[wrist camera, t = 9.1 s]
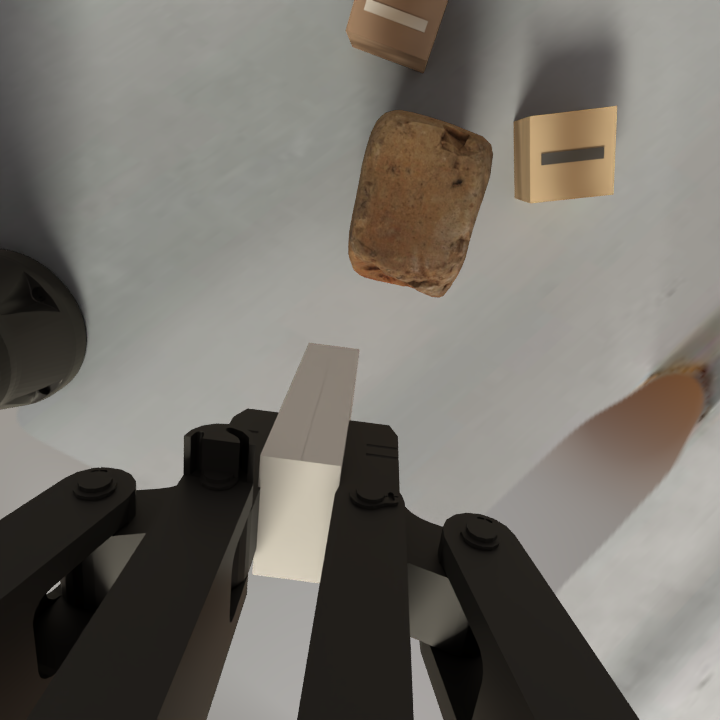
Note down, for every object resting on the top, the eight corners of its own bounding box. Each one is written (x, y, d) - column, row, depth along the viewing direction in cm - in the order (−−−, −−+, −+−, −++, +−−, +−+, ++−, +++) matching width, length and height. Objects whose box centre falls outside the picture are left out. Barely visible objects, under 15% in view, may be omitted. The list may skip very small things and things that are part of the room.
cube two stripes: (352, 46, 44) (345, 30, 38) (377, -39, 42) (374, -70, 36) (423, 73, 44) (427, 60, 38) (451, -10, 42) (460, -37, 36)
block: (383, 118, 45) (371, 89, 27) (470, 142, 46) (520, 131, 27) (351, 247, 49) (321, 301, 30) (432, 269, 49) (452, 336, 31)
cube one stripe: (514, 197, 47) (530, 203, 41) (513, 121, 45) (530, 116, 39) (587, 190, 46) (613, 194, 41) (589, 112, 44) (617, 105, 39)
